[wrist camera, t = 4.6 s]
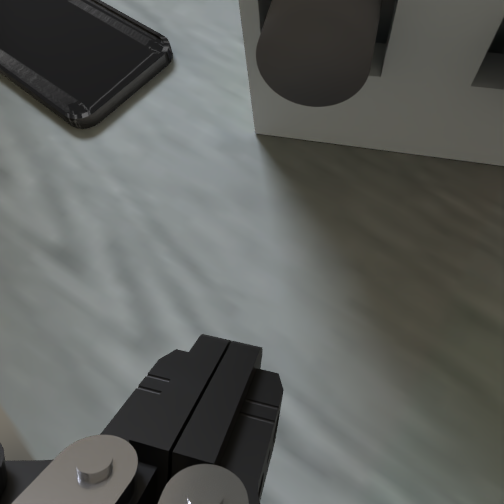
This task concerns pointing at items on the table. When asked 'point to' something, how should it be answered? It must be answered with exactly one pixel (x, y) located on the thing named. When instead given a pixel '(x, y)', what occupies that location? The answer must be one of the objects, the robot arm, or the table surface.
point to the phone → (78, 55)
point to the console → (405, 84)
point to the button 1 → (318, 49)
